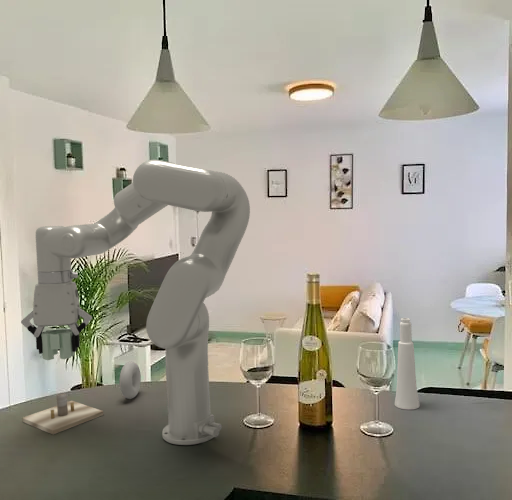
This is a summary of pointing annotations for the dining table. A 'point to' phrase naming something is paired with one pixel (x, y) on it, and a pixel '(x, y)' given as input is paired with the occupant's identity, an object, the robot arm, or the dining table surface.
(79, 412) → the post base
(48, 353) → the collar
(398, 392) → the cosmetic bottle
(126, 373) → the donut
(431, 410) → the dining table surface
